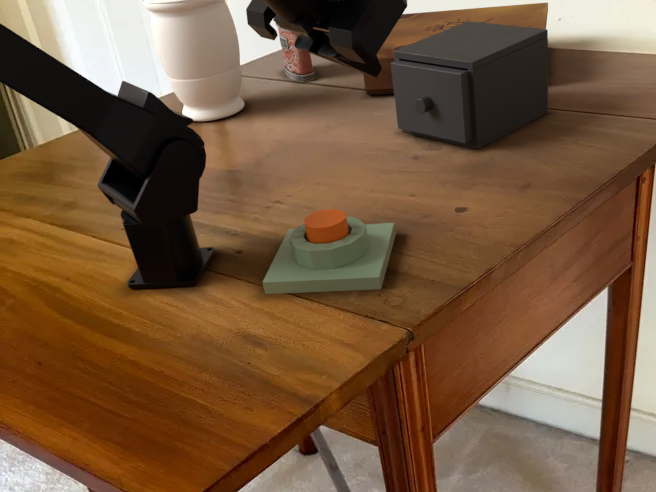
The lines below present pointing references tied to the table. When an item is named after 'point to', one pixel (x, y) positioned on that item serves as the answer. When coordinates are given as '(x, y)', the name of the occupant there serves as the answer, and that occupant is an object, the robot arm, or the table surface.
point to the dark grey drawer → (433, 100)
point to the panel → (332, 260)
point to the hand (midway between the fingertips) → (377, 72)
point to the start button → (326, 226)
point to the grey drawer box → (491, 74)
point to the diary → (432, 23)
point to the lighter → (295, 58)
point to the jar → (199, 55)
